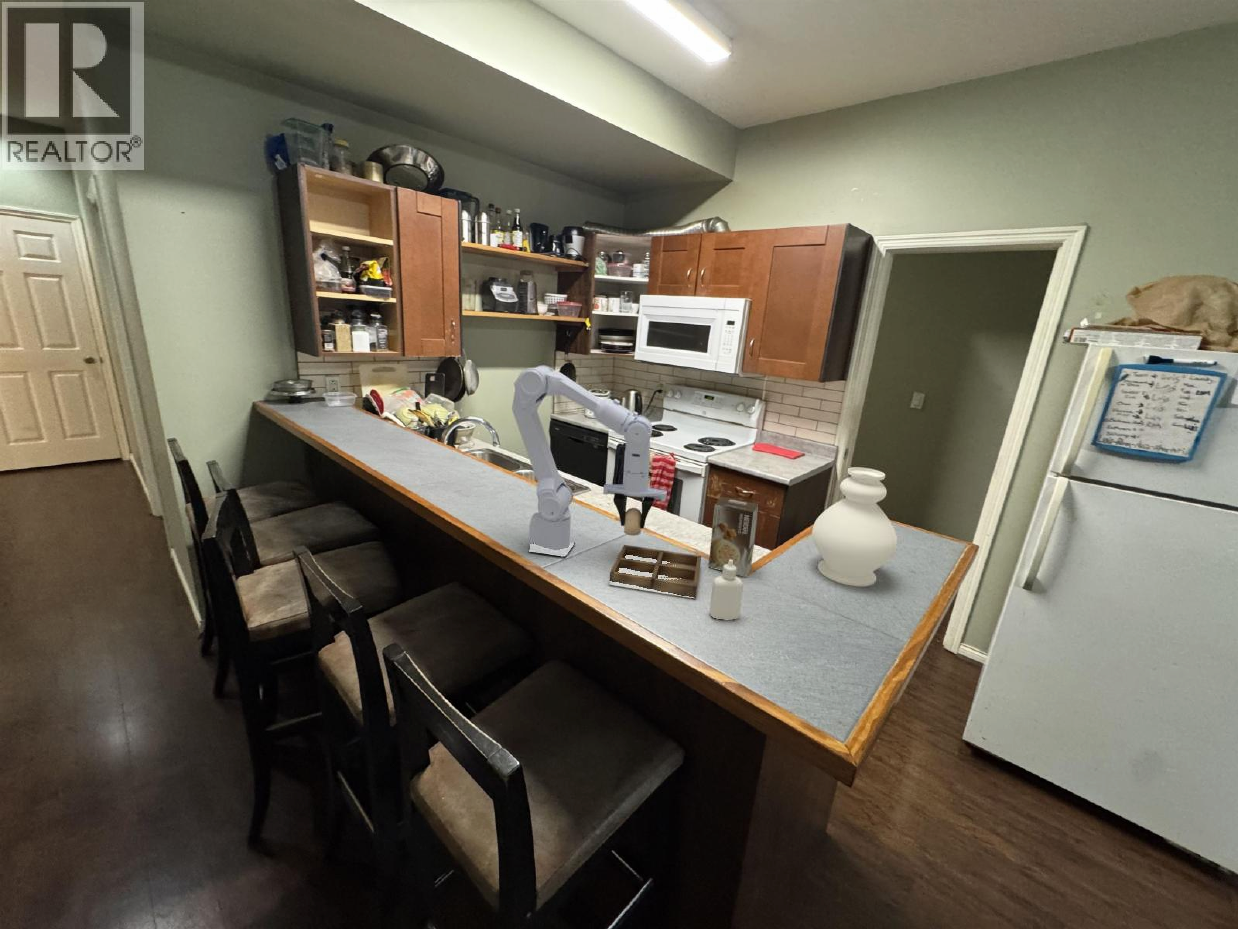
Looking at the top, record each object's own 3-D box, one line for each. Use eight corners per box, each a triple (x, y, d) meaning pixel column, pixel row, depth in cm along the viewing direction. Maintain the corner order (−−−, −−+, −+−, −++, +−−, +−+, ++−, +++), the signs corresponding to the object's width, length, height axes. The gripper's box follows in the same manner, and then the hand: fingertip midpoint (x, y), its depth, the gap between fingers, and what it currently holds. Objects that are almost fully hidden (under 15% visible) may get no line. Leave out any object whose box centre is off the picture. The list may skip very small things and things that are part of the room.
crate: (609, 585, 104) (609, 572, 103) (623, 556, 117) (624, 544, 117) (695, 599, 100) (697, 586, 99) (700, 567, 114) (701, 555, 113)
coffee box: (752, 567, 115) (761, 503, 111) (745, 578, 110) (754, 512, 106) (714, 557, 119) (722, 495, 115) (706, 567, 114) (713, 503, 110)
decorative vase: (857, 600, 103) (880, 489, 96) (790, 564, 118) (806, 465, 111) (904, 582, 112) (929, 478, 105) (837, 550, 127) (854, 458, 120)
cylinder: (622, 534, 113) (623, 510, 112) (625, 527, 117) (627, 504, 115) (639, 536, 113) (640, 512, 111) (642, 529, 116) (643, 506, 115)
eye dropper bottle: (712, 606, 98) (719, 552, 95) (740, 614, 96) (748, 559, 93) (706, 617, 94) (713, 561, 91) (735, 626, 92) (743, 568, 89)
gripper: (669, 468, 113) (665, 523, 117) (609, 462, 116) (606, 515, 120) (666, 477, 106) (661, 534, 110) (602, 470, 109) (599, 526, 113)
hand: (632, 525), depth 114 cm, fingers closed on cylinder, 4 cm apart
